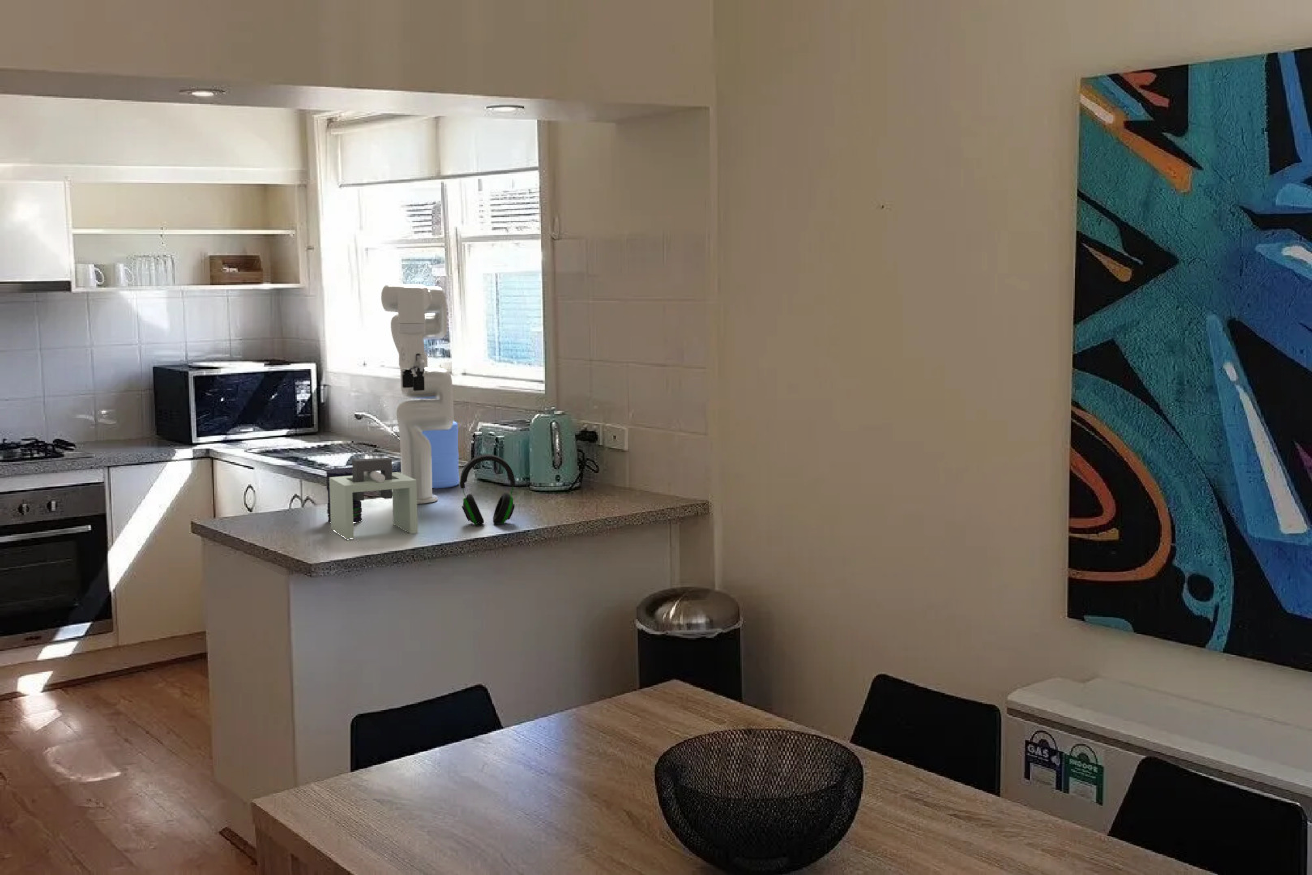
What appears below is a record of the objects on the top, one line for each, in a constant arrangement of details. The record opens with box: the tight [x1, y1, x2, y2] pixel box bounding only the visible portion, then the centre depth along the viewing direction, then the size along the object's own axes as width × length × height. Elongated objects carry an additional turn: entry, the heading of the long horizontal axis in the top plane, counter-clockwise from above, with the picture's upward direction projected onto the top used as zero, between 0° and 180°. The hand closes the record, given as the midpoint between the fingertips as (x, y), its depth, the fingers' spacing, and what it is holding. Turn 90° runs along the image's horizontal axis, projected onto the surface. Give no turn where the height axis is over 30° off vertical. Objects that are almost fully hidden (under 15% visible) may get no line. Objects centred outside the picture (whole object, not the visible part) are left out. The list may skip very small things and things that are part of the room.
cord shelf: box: [329, 471, 419, 539], centre depth 390 cm, size 16×20×17 cm
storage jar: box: [325, 467, 363, 523], centre depth 405 cm, size 10×10×15 cm
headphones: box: [459, 453, 516, 526], centre depth 400 cm, size 9×16×20 cm, turn 102°
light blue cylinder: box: [422, 420, 460, 489], centre depth 467 cm, size 16×16×28 cm
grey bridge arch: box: [351, 457, 393, 502], centre depth 389 cm, size 4×10×11 cm, turn 118°
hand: (413, 389), depth 403 cm, fingers open, 9 cm apart
